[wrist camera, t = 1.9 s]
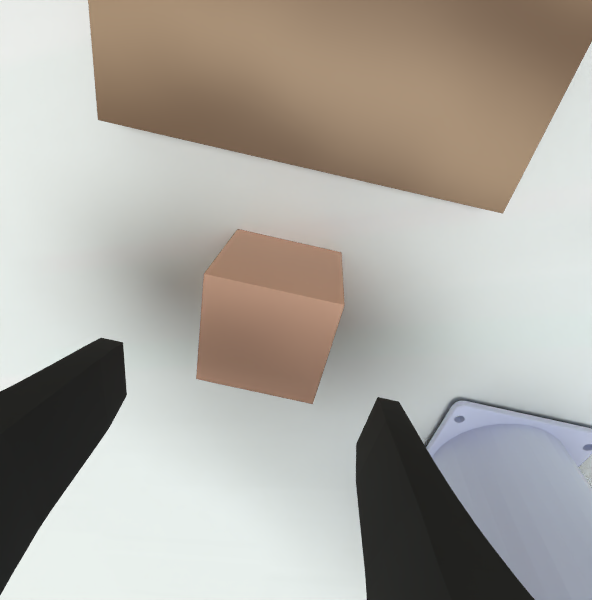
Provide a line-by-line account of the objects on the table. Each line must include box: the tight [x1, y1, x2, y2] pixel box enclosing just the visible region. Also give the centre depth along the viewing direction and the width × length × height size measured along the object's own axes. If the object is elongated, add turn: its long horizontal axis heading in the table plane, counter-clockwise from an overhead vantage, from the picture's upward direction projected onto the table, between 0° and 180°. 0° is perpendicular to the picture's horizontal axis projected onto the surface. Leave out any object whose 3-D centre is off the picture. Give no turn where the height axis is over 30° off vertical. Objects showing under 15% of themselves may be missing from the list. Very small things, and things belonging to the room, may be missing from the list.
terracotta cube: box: [196, 229, 345, 404], centre depth 14 cm, size 4×4×4 cm
